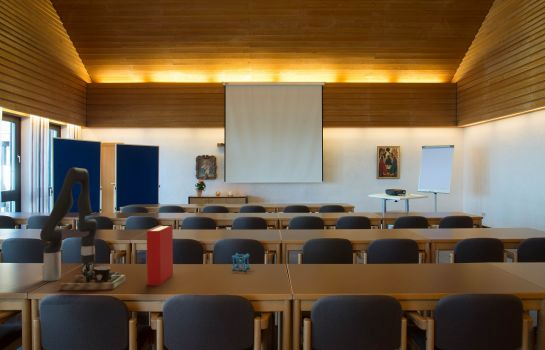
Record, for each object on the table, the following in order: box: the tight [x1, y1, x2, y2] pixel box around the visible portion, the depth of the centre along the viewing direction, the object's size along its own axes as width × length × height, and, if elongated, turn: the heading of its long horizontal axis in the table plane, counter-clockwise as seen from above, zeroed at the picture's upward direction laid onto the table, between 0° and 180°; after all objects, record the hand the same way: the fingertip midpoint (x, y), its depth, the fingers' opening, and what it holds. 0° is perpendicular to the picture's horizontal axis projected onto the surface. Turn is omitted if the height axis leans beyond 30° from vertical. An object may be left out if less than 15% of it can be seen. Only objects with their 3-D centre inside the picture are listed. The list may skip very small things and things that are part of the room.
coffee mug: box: [90, 265, 111, 283], centre depth 242 cm, size 12×9×10 cm
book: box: [146, 224, 174, 286], centre depth 254 cm, size 27×8×32 cm, turn 178°
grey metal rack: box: [59, 271, 126, 291], centre depth 246 cm, size 30×27×4 cm
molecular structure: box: [231, 253, 251, 272], centre depth 278 cm, size 10×10×10 cm
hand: (88, 282), depth 242 cm, fingers closed
